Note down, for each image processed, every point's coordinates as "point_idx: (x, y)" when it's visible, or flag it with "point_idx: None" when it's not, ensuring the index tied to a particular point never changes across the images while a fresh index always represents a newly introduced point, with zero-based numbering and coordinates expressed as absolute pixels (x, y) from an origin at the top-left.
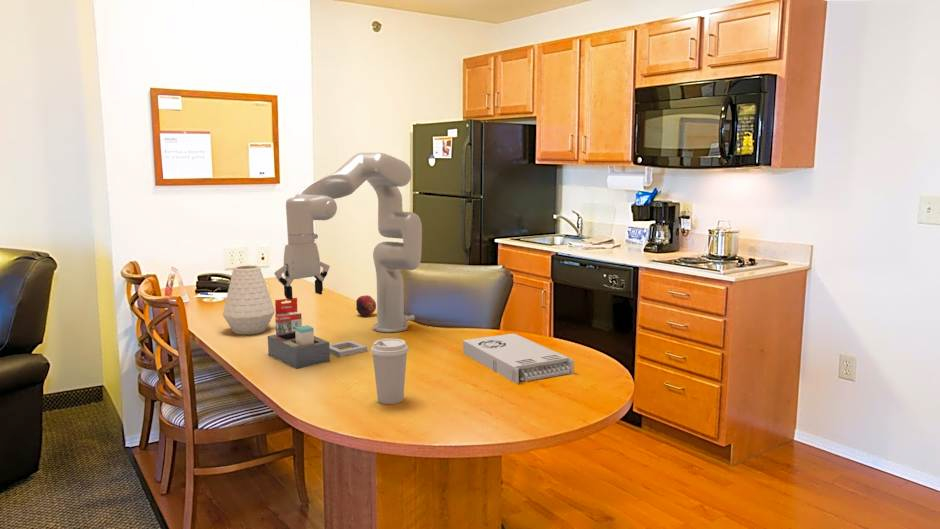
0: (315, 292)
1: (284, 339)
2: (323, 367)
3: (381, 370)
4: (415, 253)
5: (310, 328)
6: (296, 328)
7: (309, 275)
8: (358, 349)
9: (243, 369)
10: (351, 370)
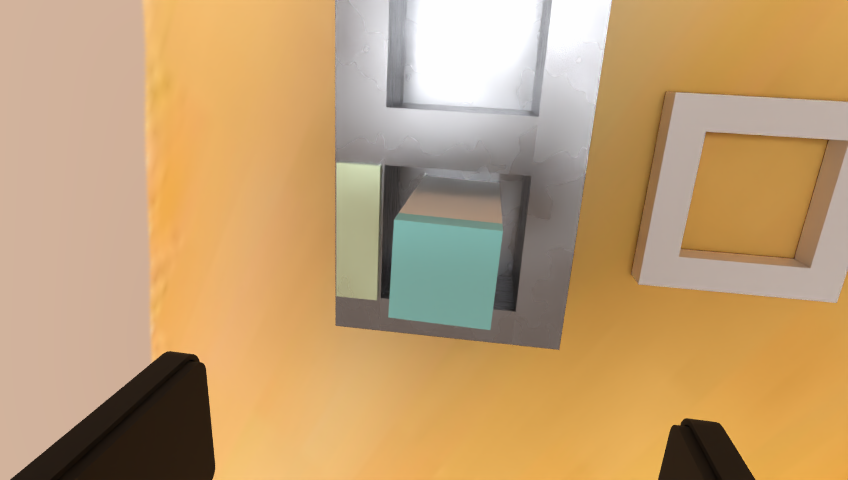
0: (673, 432)
1: (384, 84)
2: (467, 349)
3: None
4: None
5: (466, 325)
6: (393, 241)
7: None
8: (767, 294)
9: (165, 107)
10: (530, 461)
